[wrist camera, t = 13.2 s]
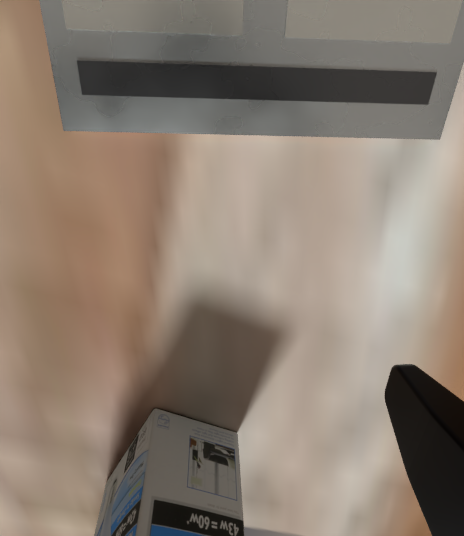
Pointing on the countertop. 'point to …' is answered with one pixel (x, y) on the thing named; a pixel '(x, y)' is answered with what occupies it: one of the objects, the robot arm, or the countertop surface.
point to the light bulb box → (175, 482)
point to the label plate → (256, 66)
